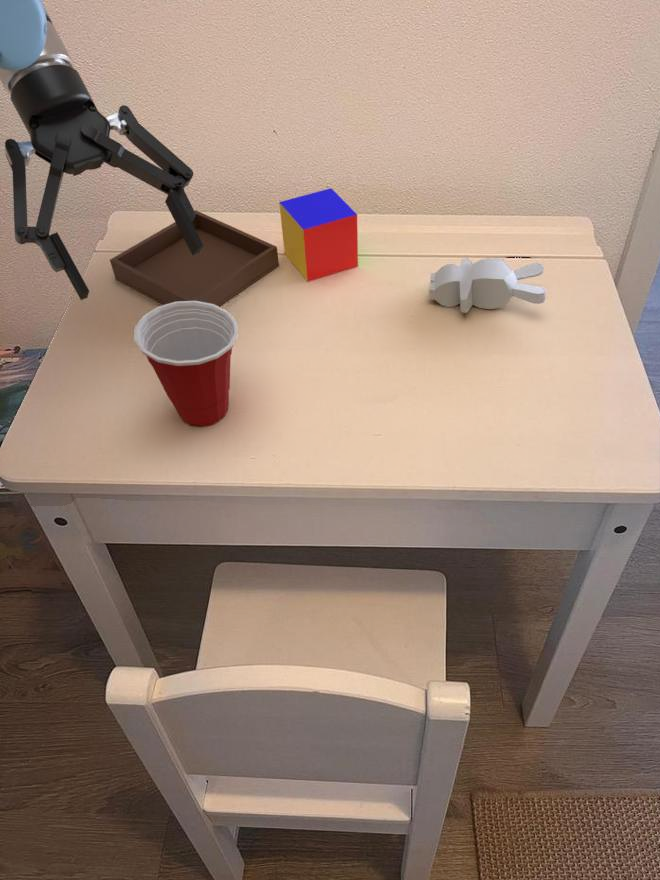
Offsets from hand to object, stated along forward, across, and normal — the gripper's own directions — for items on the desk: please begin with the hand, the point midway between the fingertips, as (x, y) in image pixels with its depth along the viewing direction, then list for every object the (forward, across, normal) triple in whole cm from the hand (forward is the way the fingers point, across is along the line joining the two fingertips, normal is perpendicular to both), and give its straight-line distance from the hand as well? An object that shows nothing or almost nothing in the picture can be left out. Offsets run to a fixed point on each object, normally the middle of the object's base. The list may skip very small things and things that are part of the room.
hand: (143, 272), depth 79 cm
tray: (-2, -13, -21) cm, 25 cm away
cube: (+4, -28, -15) cm, 33 cm away
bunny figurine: (+20, -40, 0) cm, 45 cm away
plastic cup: (+16, 0, -3) cm, 17 cm away
